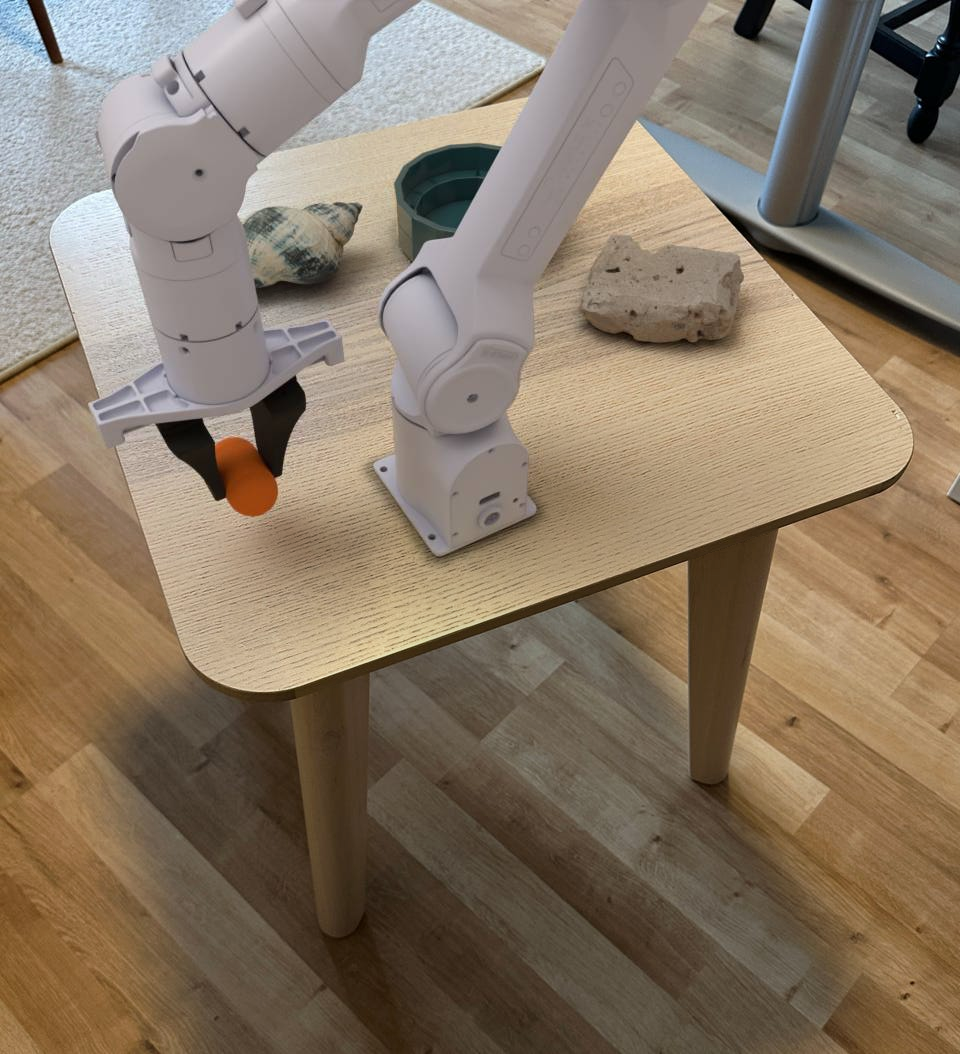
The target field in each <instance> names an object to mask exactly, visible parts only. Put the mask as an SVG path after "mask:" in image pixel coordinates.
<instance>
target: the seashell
mask: <svg viewBox="0 0 960 1054" xmlns="http://www.w3.org/2000/svg"><path fill="white" fill-rule="evenodd" d="M363 208H364V207H363V205H362V204H361V203H360V202H357V201H356V202H348V203H346V202H342V201H335V202H333V203H321V202H318V203H314V204H313V203H312V204H309V205H307V206H305V207H303V208H302V209H300V208H296V207H290V206H280V205H275V206H273V205H272V206H267V207H264V208H260V209H257V210H255V211H253V212H251V213H249V214H248V215H247V216H245V218H244V219H243V220H242V221H241V222H242V225H243V227H244V230H245V235H246V240H247V246H248V251H249V256H250V262H251V267H252V272H253V278H254V283H255V288H263V287H268V286H269V287H270V286H272V285H275V284H276V283H279V282H289V283H293V284H297V285H298V284H299V285H318V284H321V283H323V282H326V281H328V280H330V279H331V278H333V276H334V275H335V274H336V273H337V272H338V271H339V269H340V266H341V265H342V260H343V255H344V246H345V245H346V244H347V243H349V242H350V240H351V239H352V237H353V235H354V232H355V225H356V224H357V223H358V221H359V216H360V214H361V212H362V209H363Z"/></svg>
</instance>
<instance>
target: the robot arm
mask: <svg viewBox="0 0 960 1054" xmlns="http://www.w3.org/2000/svg"><path fill="white" fill-rule="evenodd" d="M422 1H423V0H232V2H233V4H234V6H232V7H231V8H230V9H229V10H227V11H226V12H225V13H224V14H223V15H222V16H221V17H219V18H218V19H217V20H216V21H215V22H214V23H212V24H211V25H210V26H209V27H208V28H207V29H206V30H205V31H203V32H202V33H201V34H200V35H199V36H198V37H196V38H195V39H194V40H192V41H191V43H189V44H188V45H187V46H186V47H185V48H183V50H181V51H180V52H179V53H178V54H176V56H175V57H174V58H171V57H170V56H169V55H168V54H164V55H162V56H161V57H160V58H159V59H158V60H157V61H156V62H154V63H153V64H152V65H151V66H150V70H149V71H148V73H143V74H141V72H139V73H135V74H133V75H131V76H128V77H126V78H125V79H123V80H121V81H120V82H118V83H117V84H116V85H115V86H114V87H112V89H111V90H109V92H108V93H107V95H105V97H104V99H103V101H102V103H101V105H100V115H99V114H98V115H97V127H96V128H97V129H95V131H94V136H95V139H96V142H97V144H98V146H99V148H100V150H101V152H102V155H103V161H104V164H105V168H106V172H107V175H108V179H109V184H110V187H111V191H112V194H113V196H114V200H115V201H116V204H117V205H118V207H119V209H120V212H121V213H122V218H123V221H124V225H125V228H126V232H127V233H128V235H129V251H130V254H131V257H132V260H133V264H134V268H135V271H136V275H137V279H138V282H139V286H140V288H141V292H142V296H143V299H144V302H145V306H146V310H147V312H148V316H149V319H150V320H149V321H150V323H151V326H152V330H153V334H154V336H155V340H156V343H157V348H158V350H159V354H160V356H161V360H160V361H159V362H157V363H155V364H154V365H152V366H151V367H150V368H148V369H147V370H145V371H143V372H142V373H140V374H139V375H138V376H136V377H134V378H133V379H131V380H130V381H128V382H127V383H125V384H124V385H122V386H121V387H119V388H118V389H116V390H113V392H111V393H108V394H107V395H105V396H103V397H100V398H98V399H95V400H92V401H90V402H88V403H87V406H88V409H89V411H90V414H91V417H92V419H93V422H94V425H95V428H96V429H97V432H98V433H99V436H100V439H102V442H103V443H104V445H105V447H106V449H108V450H110V449H112V448H115V447H117V446H121V445H122V444H125V441H126V438H125V435H127V434H129V433H132V432H135V431H138V430H140V429H143V428H146V427H148V426H151V425H155V427H156V428H157V431H158V432H159V434H160V435H161V438H162V439H163V441H164V443H165V445H166V447H167V449H169V451H170V452H171V453H172V454H173V455H174V456H175V457H176V458H177V459H178V460H180V461H181V462H183V463H185V464H187V465H188V466H189V467H190V468H192V470H194V471H195V472H196V473H197V474H198V475H199V476H200V477H201V479H203V482H204V483H205V485H206V487H207V489H208V491H209V492H210V494H211V496H212V497H213V500H214V501H215V502H219V501H222V500H225V499H226V490H225V487H224V484H223V481H222V479H221V476H220V473H219V470H218V466H217V461H216V453H215V445H216V442H215V440H214V438H213V437H212V435H211V433H210V432H209V430H208V428H207V426H206V425H205V422H204V419H207V418H216V417H224V416H229V415H234V414H237V413H240V412H243V411H245V410H247V409H249V411H250V415H251V420H252V427H253V433H254V439H255V447H256V449H257V451H258V452H259V454H260V455H261V457H262V459H263V460H264V462H265V463H266V465H267V467H268V468H269V470H270V471H271V473H272V475H273V476H274V478H275V479H277V478H279V477H282V475H283V470H284V463H285V457H286V456H285V455H286V452H287V448H288V445H289V441H290V438H291V435H292V433H293V431H294V428H295V427H296V424H297V423H298V421H299V419H300V418H301V417H302V416H303V414H304V413H305V412H306V410H307V396H306V392H305V390H304V388H303V387H302V386H301V384H300V383H299V381H298V379H297V375H298V374H299V373H301V372H302V371H303V370H305V369H306V368H309V367H311V366H314V365H317V364H320V363H322V362H324V363H325V365H326V366H328V367H333V366H336V365H339V364H342V363H344V362H345V353H344V343H343V337H342V336H341V334H340V332H339V331H338V330H337V328H336V327H335V326H334V325H333V324H332V321H330V320H329V318H324V319H322V320H318V321H315V322H310V323H307V324H299V325H291V326H283V327H274V328H265V329H264V327H263V321H262V317H261V310H260V305H259V298H258V295H257V289H256V287H255V283H254V278H253V272H252V267H251V262H250V256H249V251H248V246H247V240H246V235H245V230H244V227H243V225H242V221H241V219H240V218H239V216H238V213H239V212H240V209H241V208H242V206H243V203H244V200H245V196H246V188H247V184H248V182H249V180H250V178H251V177H252V176H253V175H254V174H255V173H256V172H258V171H259V169H258V165H259V164H261V162H263V161H264V160H266V159H267V158H268V157H269V156H270V155H271V154H272V153H274V152H275V151H276V150H277V149H279V148H280V147H281V146H282V145H284V144H285V143H286V142H288V141H289V140H290V139H291V138H293V136H295V135H296V134H297V133H299V132H300V131H302V129H303V128H305V127H306V126H307V125H308V124H309V123H311V122H312V121H313V120H314V119H315V118H317V117H318V116H319V115H320V114H322V113H323V112H325V110H327V109H328V108H329V107H330V106H332V105H333V104H334V103H335V102H336V101H338V100H339V99H340V98H342V96H344V95H345V94H346V93H347V92H348V91H349V90H351V89H352V88H353V87H355V86H356V85H357V84H358V83H360V81H361V80H362V78H363V74H364V69H365V63H366V58H367V53H368V49H369V43H370V40H371V38H372V37H373V36H375V35H376V34H378V33H379V32H380V31H381V30H383V29H385V27H387V26H389V25H391V23H393V22H394V21H395V20H397V19H398V18H400V17H401V16H403V15H404V14H405V13H406V12H408V11H409V10H411V9H412V8H413V7H415V6H416V5H418V4H419V3H421V2H422ZM709 1H710V0H581V1H580V2H579V4H578V6H577V8H576V9H575V12H574V13H573V15H572V17H571V19H570V21H569V23H568V25H567V26H566V28H565V29H564V32H563V34H562V36H561V37H560V39H559V41H558V43H557V45H556V47H555V48H554V50H553V52H552V54H551V56H550V58H549V59H548V61H547V63H546V65H545V67H544V69H543V71H541V74H540V76H539V78H538V79H537V82H536V83H535V85H534V87H533V89H532V91H531V92H530V94H529V96H528V98H527V99H526V101H525V104H524V105H523V107H522V109H521V111H520V113H519V115H518V117H517V118H516V120H515V122H514V123H513V125H512V127H511V129H510V131H509V133H508V135H507V137H506V138H505V140H504V142H503V144H502V145H501V146H502V148H501V150H500V151H499V153H498V155H497V157H496V159H495V161H494V162H493V164H492V166H491V168H490V170H489V172H488V173H487V175H486V177H485V179H484V181H483V183H482V184H481V186H480V188H479V190H478V192H477V194H476V196H475V197H474V199H473V201H472V203H471V205H470V207H469V208H468V210H467V212H466V214H465V216H464V218H463V219H462V221H461V223H460V225H459V227H458V229H457V230H456V232H455V234H454V236H453V237H450V238H444V239H436V240H430V241H427V242H425V243H424V245H423V246H422V248H421V250H420V252H419V254H418V256H417V257H416V259H415V260H414V261H413V262H411V264H410V265H409V266H408V267H407V268H405V270H403V271H402V272H400V273H399V274H398V275H397V276H396V277H394V278H393V279H392V280H391V281H390V282H389V283H388V284H387V286H386V287H385V288H384V290H383V292H382V294H381V296H380V298H379V300H378V304H377V310H376V312H377V313H376V315H377V322H378V325H379V328H380V329H381V330H382V332H383V334H384V335H385V336H386V338H387V340H389V343H390V344H391V347H392V350H393V351H394V354H395V356H396V360H395V365H394V369H393V372H392V374H391V378H390V384H389V385H390V387H389V389H390V400H391V401H390V402H391V417H392V433H393V434H392V435H393V450H394V453H393V454H390V455H388V456H385V457H383V458H380V459H378V460H376V461H375V462H374V463H373V471H374V472H375V474H376V475H377V476H378V478H379V480H380V481H381V482H382V484H383V485H384V487H386V490H387V491H388V492H389V494H390V496H392V498H393V500H394V501H395V502H396V503H397V505H398V506H399V508H400V509H401V511H402V513H404V515H405V516H406V518H407V519H408V520H409V522H410V523H411V525H412V526H413V528H414V529H415V531H416V532H417V533H418V534H419V536H420V537H421V539H422V541H423V542H424V543H425V545H426V546H427V548H428V549H429V551H430V552H431V553H432V554H433V555H434V556H436V557H444V556H445V555H448V554H450V553H452V552H455V551H457V550H459V549H462V548H464V547H465V546H468V545H470V544H472V543H475V542H477V541H479V540H481V539H483V538H486V537H489V536H490V535H493V534H494V533H497V532H499V531H501V530H504V529H506V528H508V527H510V526H513V525H515V524H517V523H520V522H521V521H524V520H526V519H529V518H530V517H533V516H534V515H536V514H537V505H536V504H535V502H534V501H533V500H532V499H531V497H530V496H529V495H528V490H529V489H528V488H529V477H530V476H529V475H530V455H529V451H528V449H527V448H526V446H525V445H524V443H523V442H522V440H521V439H520V437H518V435H517V433H516V432H515V430H514V428H513V426H512V424H511V421H510V419H509V416H508V410H509V409H510V408H511V407H512V405H513V404H514V403H515V400H516V399H517V397H518V395H519V391H520V387H521V380H522V379H521V377H522V371H523V368H524V365H525V364H526V362H527V360H528V358H529V356H530V355H531V353H532V351H533V350H534V348H535V341H536V340H535V339H536V338H535V334H536V333H535V315H534V314H535V312H534V289H535V286H536V285H537V284H538V281H539V280H540V278H541V277H542V275H543V274H544V272H545V270H546V268H547V266H548V265H549V264H550V262H551V261H552V259H553V257H554V255H555V254H556V252H557V251H558V249H559V247H560V245H561V244H562V242H563V241H564V239H565V238H566V236H567V235H568V232H569V231H570V229H571V228H572V226H573V225H574V223H575V221H576V220H577V218H578V216H579V215H580V213H581V211H582V210H583V208H584V207H585V205H586V203H587V202H588V200H589V198H590V197H591V195H592V194H593V192H594V190H595V189H596V187H597V186H598V184H599V183H600V181H601V179H602V178H603V176H604V174H605V172H606V171H607V169H608V167H610V165H611V163H612V161H613V159H614V158H615V156H616V155H617V153H618V151H619V150H620V148H621V147H622V145H623V143H624V141H625V140H626V139H627V137H628V136H629V133H630V132H631V130H632V129H633V127H634V125H635V123H636V122H637V120H638V118H639V117H640V115H641V114H642V113H643V111H644V109H645V108H646V106H647V104H648V103H649V101H650V100H651V98H652V96H653V94H654V93H655V91H656V90H657V88H658V86H659V84H660V83H661V82H662V80H663V78H664V76H665V75H666V73H667V72H668V70H669V68H670V67H671V65H672V64H673V62H674V60H675V59H676V57H677V55H678V54H679V52H680V50H681V49H682V47H683V45H684V44H685V42H686V41H687V39H688V37H689V36H690V34H691V33H692V31H693V29H694V28H695V26H696V24H697V23H698V20H699V19H700V18H701V16H702V15H703V13H704V11H705V9H706V7H707V6H708V3H709Z"/></svg>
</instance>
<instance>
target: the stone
mask: <svg viewBox="0 0 960 1054" xmlns="http://www.w3.org/2000/svg"><path fill="white" fill-rule="evenodd" d="M741 265H742V264H741V256H740V255H738V253H735V252H729V251H726V252H725V251H720V250H713V249H705V248H700V247H695V246H686V245H683V246H682V245H675V244H666V245H664V246H663V247H661V248H659V249H658V250H657V251H656V252H653V253H651V252H650V251H649V250H648V249H643V248H641V246H640V242H638V241H634V239H633V238H632V235H627V234H620V233H613V234H610V236H609V238H608V240H607V241H606V243H605V245H604V247H603V249H602V250H601V251H600V252H599V253H598V255H597V256H596V258H595V260H594V262H593V264H592V266H591V267H590V270H589V275H588V285H587V288H586V289H585V290H584V291H583V295H582V298H581V299H580V302H579V306H578V310H579V311H580V312H581V314H582V316H583V317H584V318H585V319H587V321H589V322H590V324H591V325H592V326H594V327H595V328H596V329H598V330H600V331H602V332H605V333H609V334H619V333H627V334H629V335H630V336H632V338H633V339H634V340H636V341H641V342H651V343H668V342H673V343H675V342H677V341H680V340H682V339H683V340H684V339H686V340H687V341H688V342H690V343H697V341H698V340H707V341H712V340H714V341H715V340H721V339H724V338H725V337H727V336H728V335H729V334H730V333H731V332H732V326H733V324H734V320H735V317H736V313H737V310H738V309H737V308H738V302H739V297H740V292H741V288H742V287H741V284H742V283H743V282H744V279H745V275H744V273H743V269H742V267H741Z"/></svg>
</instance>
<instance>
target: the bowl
mask: <svg viewBox="0 0 960 1054" xmlns="http://www.w3.org/2000/svg"><path fill="white" fill-rule="evenodd" d="M502 146H503V145H496V144H489V143H484V142H483V143H482V142H470V143H469V142H468V143H455V144H454V143H452V144H447V145H443V146H440V147H437V148H433V149H431V150H428V151H423V152H421V153H419V154H418V155H417V156H415V157H414V158H413V159H410V160H409V161H408V162H407V163H405V164H404V165H402V166H401V167H402V168H401V169H400V171H399V173H398V175H397V177H396V178H395V180H394V182H393V193H394V195H393V197H394V213H395V229H396V237H397V243H398V247H399V248H400V249H401V251H402V252H403V253H404V254H405V255H406V256H407V258H409V260H410V261H411V263H413V261H414V260H415V259H416V257H417V256H418V254H419V252H420V250H421V248H422V246H423V245H424V243H425V242H427V241H430V240H436V239H444V238H450V237H453V236H454V234H455V232H456V230H457V229H458V227H459V225H460V223H461V221H462V219H463V218H464V216H465V214H466V212H467V210H468V208H469V207H470V205H471V203H472V201H473V199H474V197H475V196H476V194H477V192H478V190H479V188H480V186H481V184H482V183H483V181H484V179H485V177H486V175H487V173H488V172H489V170H490V168H491V166H492V164H493V162H494V161H495V159H496V157H497V155H498V153H499V151H500V150H501V148H502Z"/></svg>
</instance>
